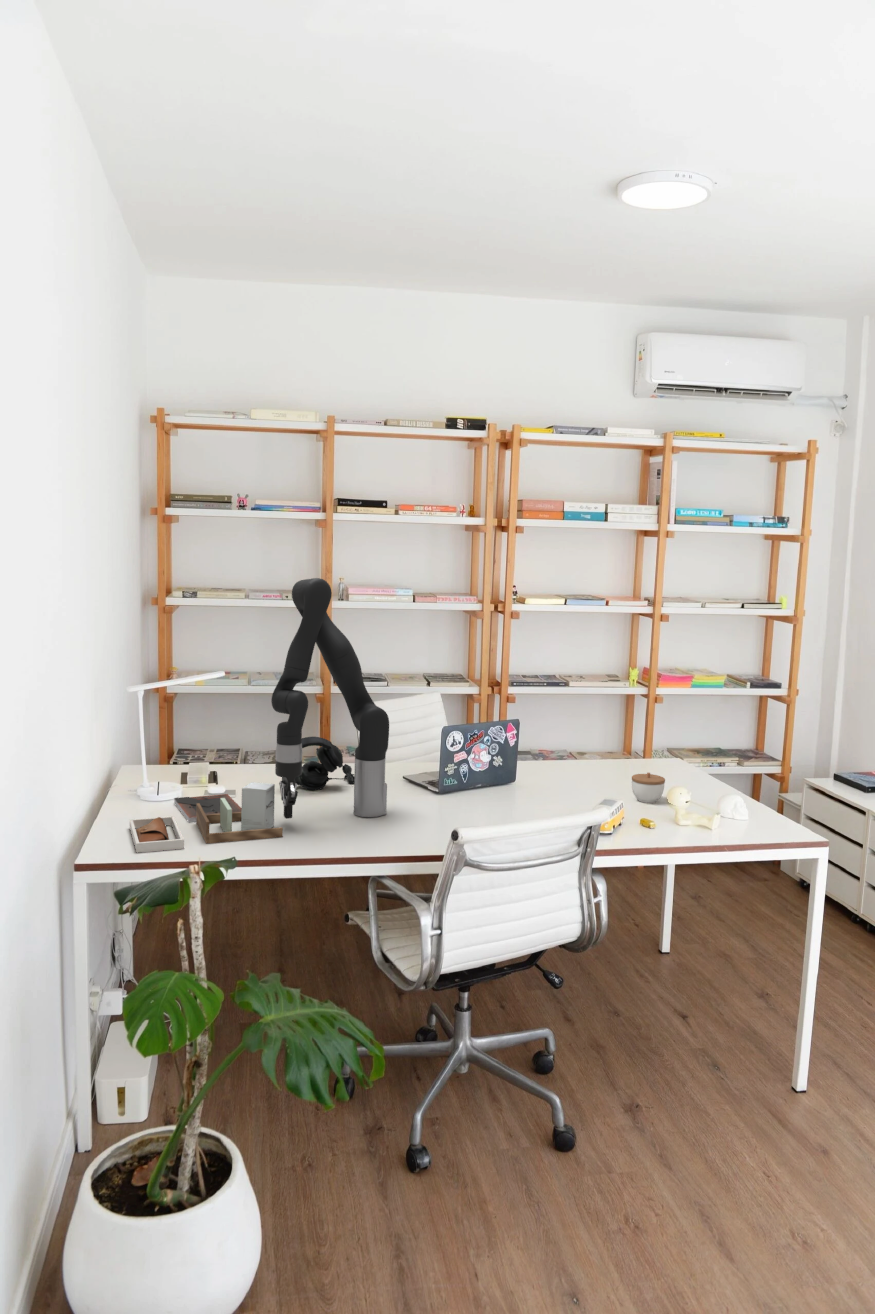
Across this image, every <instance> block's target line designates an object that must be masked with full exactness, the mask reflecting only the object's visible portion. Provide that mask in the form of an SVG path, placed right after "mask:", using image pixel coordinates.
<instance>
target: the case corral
mask: <svg viewBox="0 0 875 1314" xmlns="http://www.w3.org/2000/svg"><path fill="white" fill-rule="evenodd" d="M160 817H161V818H162V819H163V821H164V823H165V825H172V826H171V828H172V827H173V828H172V830H174V831H173V833H174V835H176V836H175V837H176V838H175V839H169V840H162V841H150V842H139V840H138V836H137V833H136V829H135V828H137V829H138V828H140V827H142V826H144V825H147V824H149V823H150V822H151V821H153V820H154V819H156V818H157V817H148V818H146V817H145V818H136V819H135V818H134V819H129V831H130V830H131V831H130V834H132V835H131V837H132V838H133V839H132V842H133V845H135V846H134V850H135V849H136V850H135V853H136V852H137V853H136V854H139V853H138V852H142V853H151V852H162V851H163V850H164V851H172V850H175V849H176V850H184V849H185V838H184V836H183V834H182V831H181V828H180V826H179V824H178V823H177V819H176V817H175V816H174V815H173V816H171V815H170V816H160Z"/></svg>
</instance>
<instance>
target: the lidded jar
mask: <svg viewBox="0 0 875 1314" xmlns="http://www.w3.org/2000/svg"><path fill="white" fill-rule="evenodd" d="M665 783H666V779H665V777H664V776H661V775H657V774H652V773H651V772H646V773H636V774H633V775H632V776H631V789H632V794H633V796H634V797H635V798H636V799H637V801H639V803H644V804H646V803H647V804H656V803H657V801H658V800H659V799H660V798H661V797H662V795H663V794H664V790H665Z"/></svg>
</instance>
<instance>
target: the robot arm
mask: <svg viewBox="0 0 875 1314" xmlns="http://www.w3.org/2000/svg"><path fill="white" fill-rule="evenodd" d="M332 596H333V595H332V587H331V585H330V584H329V582H328V581H326V580H325V579H323V578H320V577H319V578H318V577H313V578H306V579H300V580H298V581H296V583H294V585H293V587H292V589H291V598H292V601H293V604H294V607H296V610H298V611H297V612H299V614H300V617H302V619H301V621H300V624H299V626H298V629H297V631H296V633H295V636H294V637H293V639H292V641H291V642H290V645H289V648H288V650H287V653H286V659H285V663H284V668H283V672H282V673H281V676H280V677H279V680H278V682H277V684H276V686H275V688H274V689H273V692H272V694H271V698H270V699H271V706H272V708H273V710H274V711H275V712H276V713H278V714H279V713H280V714H285V715H289V716H288V719H287V721H281V722H279V723H278V724H277V727H276V728H277V729H276V747H275V770H274V773H275V775H276V776H277V777H280V778H281V780H280V781H279V783H278V784H279V789H280V791H279V792H280V797H281V798H280V799H281V801H282V805H283V817H284V819H292V818H293V806H294V805H296V803H297V798H298V793H299V791H298V790H297V788H298V785H297V782H295V777H298V776H300V775H301V774H302V766H303V748H302V738H303V737H302V736H303V735H302V734H303V732H302V731H303V730H302V729H303V726H304V723H305V720H306V717H307V712H308V709H309V700H308V696H307V694H306V693H305V692H303V691H302V690H297V689H294V688H295V686H296V685H297V684H301V683H305V682H306V681H307V680H308V678H309V677H308V676H309V671H310V669H311V663H312V657H313V653H314V649H315V646H317V648H318V649H319V652H320V655H321V656H322V658H323V660H324V663H325V665H326V667H327V669H328V671H329V673H330V675H331V677H332V678H333V680H334V681H333V682H334V683H335V684H336V686H337V688H338V690H339V692H340V693H341V695H342V696H343V698H344V702H345V704H346V706H347V709H348V713H349V715H350V718H351V721H352V723H353V726H354V728H355V729H356V730H357V731H358V732H359V736H358V737H359V739H358V746H357V747H355V750H354V775H353V776H354V785H353V787H354V788H353V814H354V815H355V816H357V817H362V818H376V817H382V816H386V815H387V802H388V799H387V798H388V796H387V795H388V784H387V783H386V755H387V751H388V748H389V739H390V738H389V736H390V719H389V715H388V713H387V711H385V710H384V709H383V708H381V707H379V706H377V705H376V704H375V702H374V700H373V699H372V697H371V696H370V693H369V692H368V690H367V688H366V686H365V682H364V676H363V671H362V670H363V669H362V667H361V663H360V661H359V658H358V655H357V654H356V651H355V650H354V647H353V646H352V643H351V642H350V640H349V639H348V638H347V637H346V635H345V634H344V633H343V632H342V631H341V630H340V629H339V627H337V625H336V624H335V623H334V622H333V620H332V619H331V617H330V616H329V613H328V612H327V611H328V608H329V607H330V606H329V605H330V603H331V600H332Z"/></svg>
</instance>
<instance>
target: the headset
mask: <svg viewBox="0 0 875 1314" xmlns="http://www.w3.org/2000/svg"><path fill="white" fill-rule="evenodd" d="M313 746H314V747H315V746H317V748H316V752H315V754H316V756H317V758H318V760H319V761H314V760H309V761H308V762H305V763H303V764H302V774H301V775H300V776H298V777H295V782H297V786H299V787H302V788H303V789H306V790H309V791H318V789H320V790H322V789H323V788H325V787H326V786H327V783H328V782H329V781H330V780H343V781H345V780H347V782H348V783H349V784H350V785H353V784H354V776H355V773H352V771H353V768H352V766H351V765H349V764H346V763H345V764H344V758H343V757H344V756H343V753H342V750H340V748H339V747H338V746H337V745H334V744H333V743H332V741H331V740H328V739H326V738H323V737H319V736H307V737H302V749H304V748H307V747H313ZM343 764H344V765H343ZM338 768H339V769H340V768H341V770H342V772H343V773H344V774H345V775H344V776H343V778H338V777H335V778H334V777H333V778H332V777H329V773H334V771H336V770H337V769H338Z"/></svg>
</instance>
